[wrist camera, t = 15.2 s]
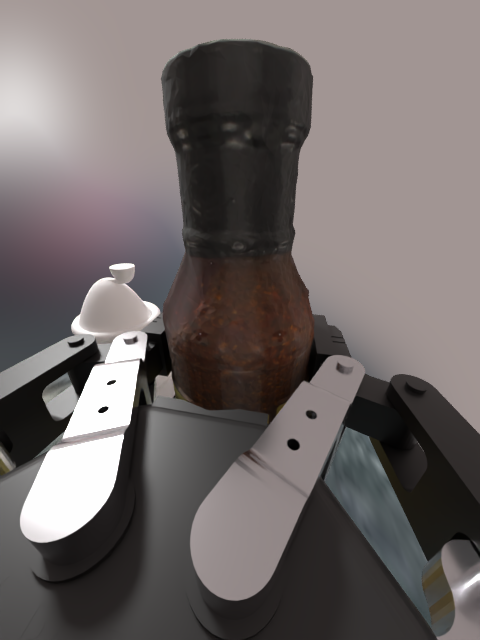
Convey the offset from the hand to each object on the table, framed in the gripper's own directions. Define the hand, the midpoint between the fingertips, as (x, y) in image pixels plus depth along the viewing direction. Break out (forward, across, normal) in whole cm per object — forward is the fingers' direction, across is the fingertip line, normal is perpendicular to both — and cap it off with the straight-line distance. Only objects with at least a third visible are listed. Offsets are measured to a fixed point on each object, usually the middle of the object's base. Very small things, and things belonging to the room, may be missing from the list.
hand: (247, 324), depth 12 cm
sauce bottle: (-2, 0, +11) cm, 11 cm away
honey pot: (+12, +18, +19) cm, 29 cm away
